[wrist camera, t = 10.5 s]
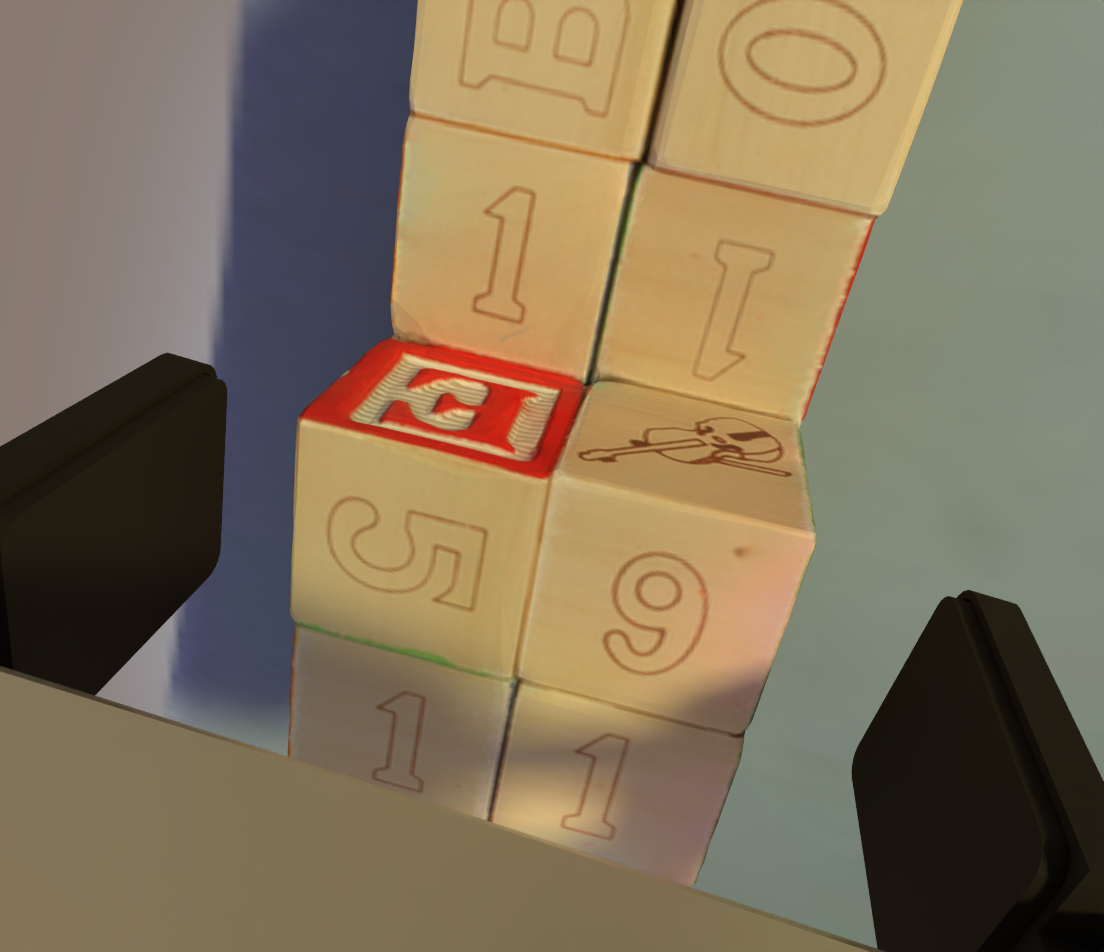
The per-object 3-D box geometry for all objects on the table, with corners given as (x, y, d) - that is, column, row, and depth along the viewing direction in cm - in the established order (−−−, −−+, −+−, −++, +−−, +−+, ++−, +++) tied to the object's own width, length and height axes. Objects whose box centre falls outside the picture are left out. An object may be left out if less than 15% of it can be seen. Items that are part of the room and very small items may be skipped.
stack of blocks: (599, -267, 16) (349, -892, 5) (931, -204, 16) (1375, -750, 5) (449, 624, 26) (254, 1029, 15) (650, 679, 26) (595, 1137, 15)
